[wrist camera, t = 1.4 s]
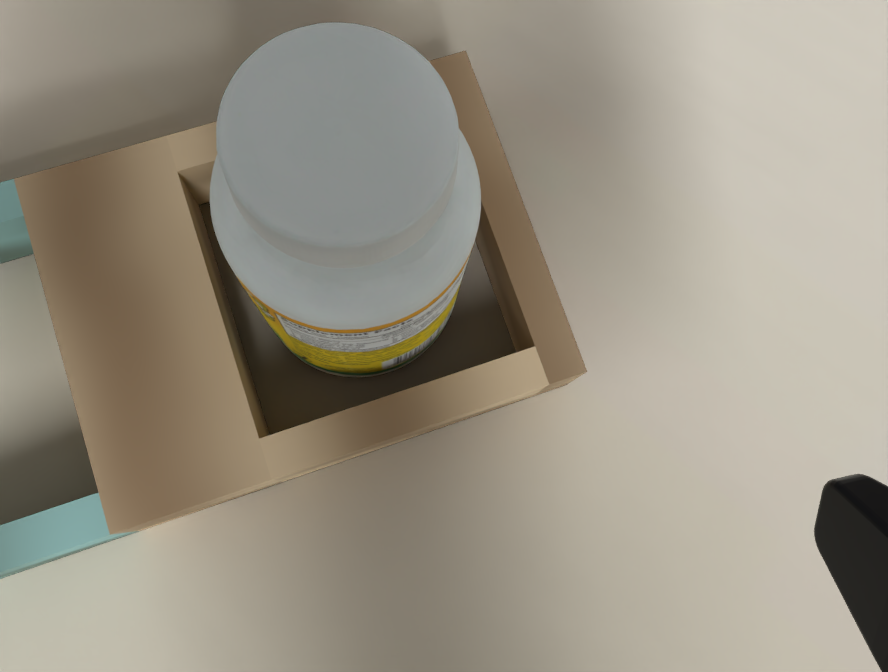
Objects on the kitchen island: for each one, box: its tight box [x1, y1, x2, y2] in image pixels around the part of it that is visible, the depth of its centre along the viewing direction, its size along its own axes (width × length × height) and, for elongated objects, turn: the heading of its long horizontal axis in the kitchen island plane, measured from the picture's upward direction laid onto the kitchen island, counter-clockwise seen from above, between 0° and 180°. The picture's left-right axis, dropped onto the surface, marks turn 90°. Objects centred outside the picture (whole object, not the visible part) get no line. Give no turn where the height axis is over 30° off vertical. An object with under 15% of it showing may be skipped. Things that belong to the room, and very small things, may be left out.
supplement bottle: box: [210, 22, 481, 377], centre depth 18 cm, size 5×5×10 cm
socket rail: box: [0, 51, 587, 579], centre depth 21 cm, size 20×9×2 cm, turn 109°
